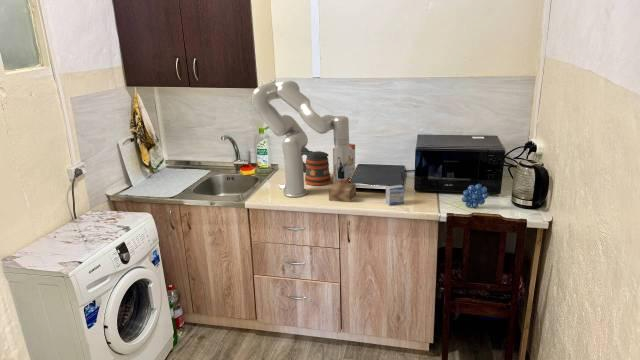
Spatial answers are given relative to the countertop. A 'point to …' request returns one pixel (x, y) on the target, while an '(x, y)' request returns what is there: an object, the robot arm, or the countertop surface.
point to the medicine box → (394, 195)
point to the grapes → (475, 195)
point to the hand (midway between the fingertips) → (342, 176)
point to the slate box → (346, 172)
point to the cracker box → (351, 163)
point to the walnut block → (342, 192)
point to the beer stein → (316, 168)
